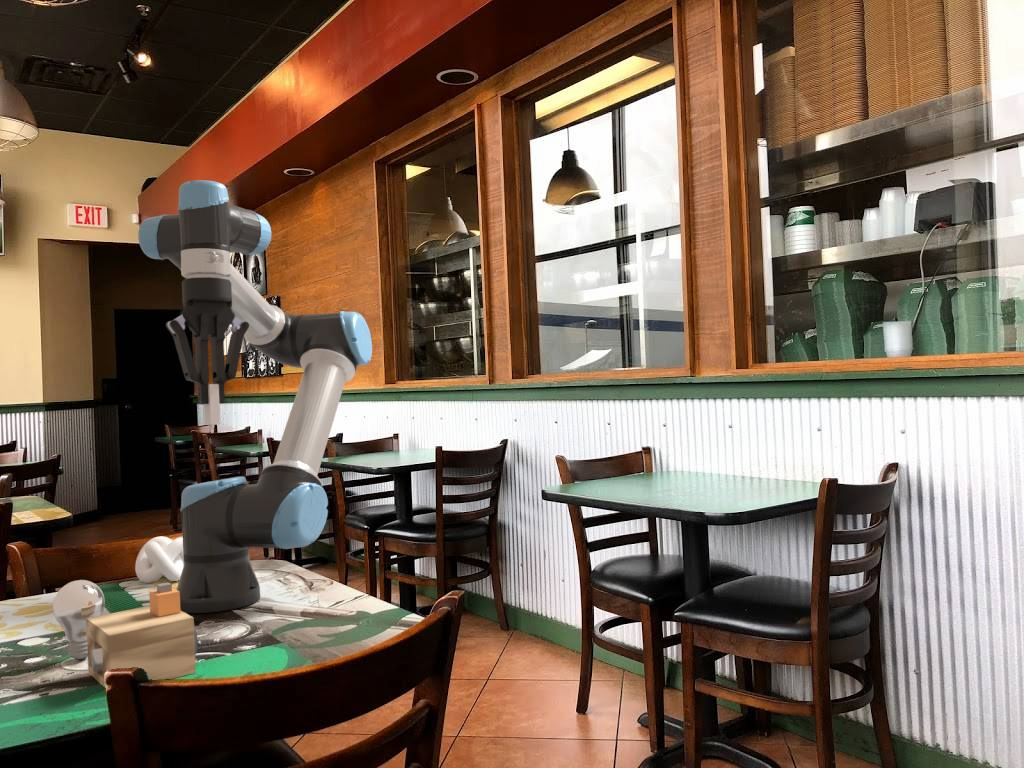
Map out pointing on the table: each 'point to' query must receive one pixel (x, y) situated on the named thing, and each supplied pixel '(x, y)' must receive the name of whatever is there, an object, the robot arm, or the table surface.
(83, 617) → the light bulb
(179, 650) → the block
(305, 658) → the table surface
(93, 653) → the pin
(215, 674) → the table surface
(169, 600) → the bar
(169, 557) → the white knot sculpture
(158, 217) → the robot arm
